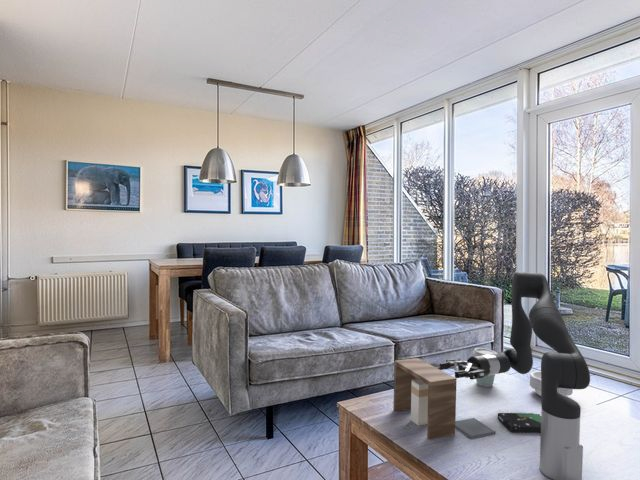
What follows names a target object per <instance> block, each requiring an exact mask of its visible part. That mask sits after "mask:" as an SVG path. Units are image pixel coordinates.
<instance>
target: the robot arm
mask: <svg viewBox="0 0 640 480" xmlns="http://www.w3.org/2000/svg"><path fill="white" fill-rule="evenodd" d="M522 298H529V299H538V300H537V301H536V302H535V303H534V304H533V306H532V307H531V308H530V310H529V313H528V315H527V314H526V311H525V310H524V307H523V305H522V304H523V303H522ZM533 333H534V334H535V336H536V337H537V338H538V339H539V340H540V341H542V342H543V343H544V344H546V345H547V346H548V347H550V348H551V349H553V350H554V351H556V352H553V351H552V352H550V351H549V352H545V353H543V354H542V356H541V360H540V361H541V362H540V371H541V396H540V398H541V408H540V409H541V412H540V416H541V433H540V439H539V440H540V441H539V445H540V446H539V471H540V472H541V473H542V474H543V475H544V476H546V477H547V478H549V479H551V480H583V458H584V455H583V454H584V446H583V445H582V444H580V440H581V439H580V434H581V433H580V432H581V412H582V411H581V409H582V408H581V405H580V404H579V403H578V402H577V401H576V400H574V399H572V398H570V397H568V396H566V397H565V396H563V395H561V394H559V393H558V392H557V388H566V389H573V390H585V389H587V388H588V387H589V386H590V382H591V373H590V369H589V366H588V364H587V361H586V359H585V357H584V356H583V354H582V352H581V351H580V350H579V348H578V346H577V344H575V341H574V340H573V338H572V336H571V335H570V332H569V330H568V328H567V326H566V324H565V321H564V318H563V316H562V313H561V312H560V311H559V309H558V306H557V304H556V302H555V300H554V297H553V294H552V291H551V289H550V285H549V282H548V280H547V277H546V276H545V274H542V273H541V272H534V271H533V272H531V271H530V272H529V271H517V272H515V273H514V274H513V277H512V282H511V330H510V337H509V344H510V345H511V347H512V348H506V349H504V350H502V351H501V352H499V353H497V354H492V355H479V356H474V355H473V356H470V357H469V358H467V360H461V358H458V357H457V358H448V359H445V362H441V363H439V364H438V365H439V369H441V371H443V370H448V369H450V370H454V371H455V372H454V377H455V378H457V379H459V378H460V379H461V378H466V379H468V378H469V380H471V381H473V380H476V379H478V378H483V377H484V376H491V375H494V374H495V375H497V374H498V375H499V374H505V373H507V372H509V371H510V370H511V368H512V369H513V370H514V371H515V372H517V373H518V374H521V375H526V374H528V373H530V372H531V370H532V368H533V365H534V358H533V352H532V351H533V350H532V346H531V343H532V336H533V335H532V334H533Z"/></svg>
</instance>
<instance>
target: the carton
mask: <svg viewBox="0 0 640 480" xmlns="http://www.w3.org/2000/svg"><path fill="white" fill-rule="evenodd" d="M410 421H411V422H413V423H414V424H416V426H417V427H419V426H424V425H425V426H426V425H427V423H428V384H426V383H424V382H423V381H421V380H419V379H418V380H412V385H411V409H410Z"/></svg>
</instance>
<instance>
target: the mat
mask: <svg viewBox="0 0 640 480" xmlns="http://www.w3.org/2000/svg"><path fill="white" fill-rule="evenodd" d="M455 429H456V430H458V431H460V432H461V433H462V434H464V435H465V436H466V437H468V438H470V439H476V438H480V437H486V436H490V435H495V434H496V430H495V429H493V428H491V427H490V426H488V425H486V424H485V423H483V422H481V421H480V420H479V419H476V418H475V417H471V418H466V419H461V420H455Z"/></svg>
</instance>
